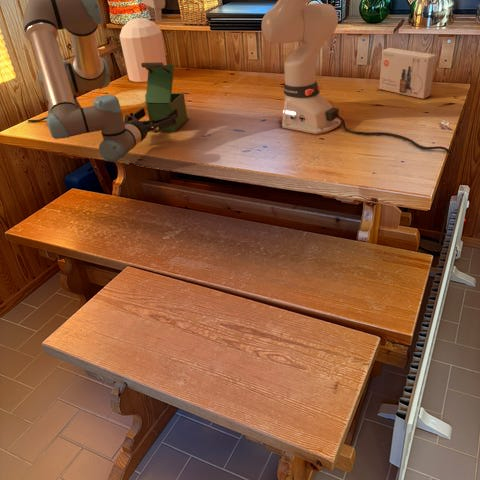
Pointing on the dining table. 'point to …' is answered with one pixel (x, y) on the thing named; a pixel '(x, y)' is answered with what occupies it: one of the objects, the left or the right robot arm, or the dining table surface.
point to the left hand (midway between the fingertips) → (160, 112)
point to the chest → (169, 111)
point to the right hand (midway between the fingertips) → (155, 20)
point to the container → (141, 47)
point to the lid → (159, 83)
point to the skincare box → (407, 72)
